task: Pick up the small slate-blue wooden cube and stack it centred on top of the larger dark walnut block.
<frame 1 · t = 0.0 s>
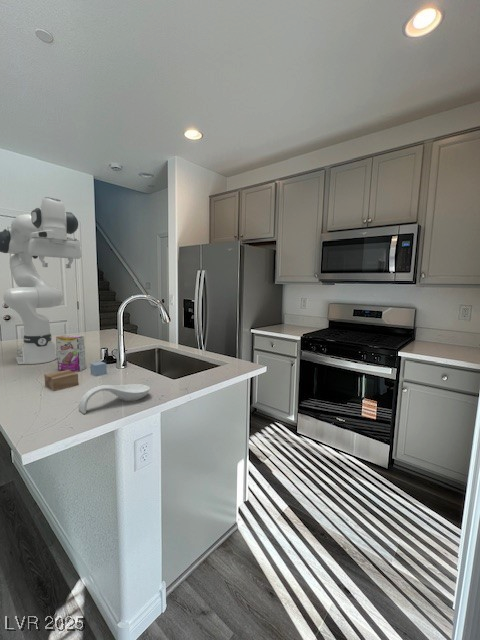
hand: (57, 267, 132), 48 cm above the countertop, tool pointing down, fingers open, 8 cm apart
spoon rest: (117, 403, 103), on the countertop
walnut block: (61, 386, 119), on the countertop
candy bar box: (72, 370, 141), on the countertop
slate blue cube: (98, 374, 135), on the countertop
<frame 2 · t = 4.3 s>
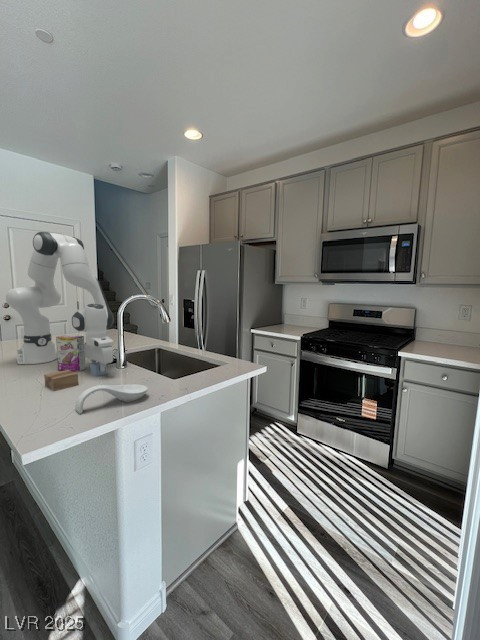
hand: (98, 369, 135), 2 cm above the countertop, tool pointing down, fingers closed on slate blue cube, 5 cm apart
slate blue cube: (98, 373, 135), on the countertop, touching gripper
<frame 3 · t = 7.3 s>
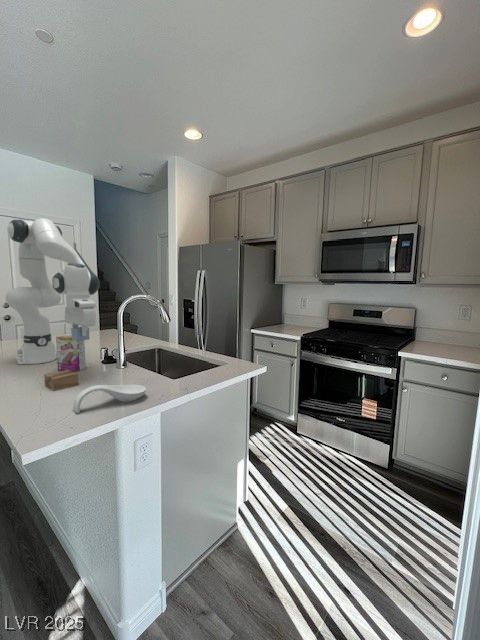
hand: (80, 335, 125), 19 cm above the countertop, tool pointing down, fingers closed on slate blue cube, 5 cm apart
slate blue cube: (80, 339, 126), point 17 cm above the countertop, touching gripper
when the fingers open (8 cm above the countertop, at t = 10.0 s): slate blue cube drops 1 cm, resting on walnut block.
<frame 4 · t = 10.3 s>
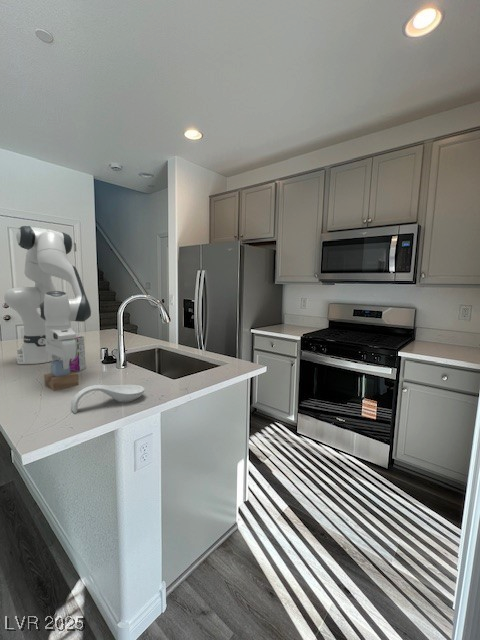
hand: (60, 366, 119), 8 cm above the countertop, tool pointing down, fingers open, 8 cm apart
walnut block: (61, 386, 119), on the countertop, touching slate blue cube
slate blue cube: (60, 374, 119), point 5 cm above the countertop, touching walnut block
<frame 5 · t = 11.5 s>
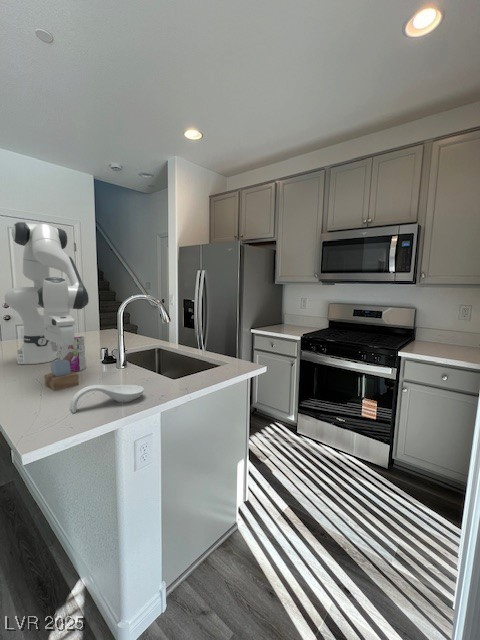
hand: (59, 353, 118), 13 cm above the countertop, tool pointing down, fingers open, 8 cm apart
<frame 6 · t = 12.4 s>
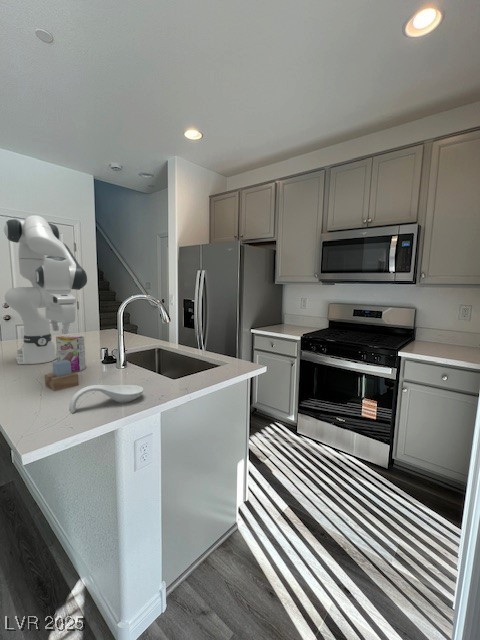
hand: (60, 332, 118), 22 cm above the countertop, tool pointing down, fingers open, 8 cm apart
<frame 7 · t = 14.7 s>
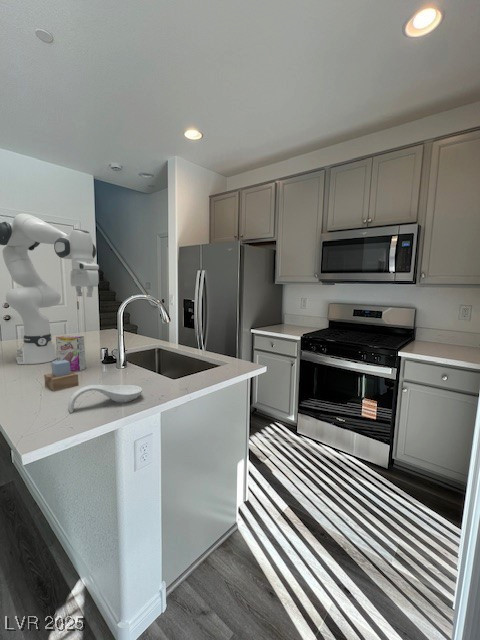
hand: (84, 296, 135), 35 cm above the countertop, tool pointing down, fingers open, 8 cm apart
walnut block: (61, 386, 119), on the countertop
slate blue cube: (61, 374, 119), point 5 cm above the countertop
at the end: slate blue cube 0.6 cm off-centre on the walnut block, point 5.0 cm above the walnut block's base; slate blue cube tilted 1°; the gripper is holding nothing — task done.
